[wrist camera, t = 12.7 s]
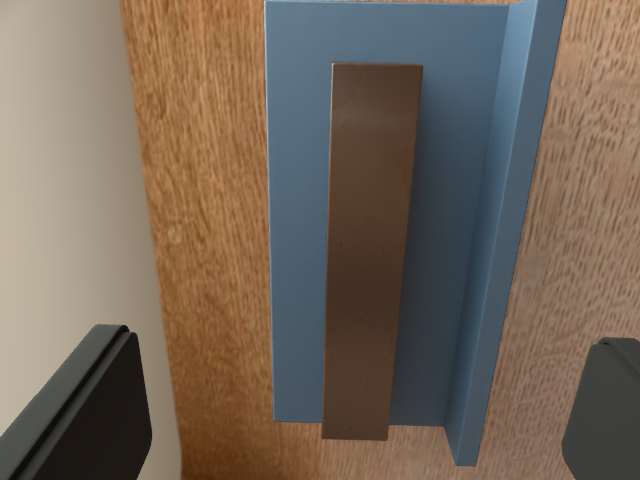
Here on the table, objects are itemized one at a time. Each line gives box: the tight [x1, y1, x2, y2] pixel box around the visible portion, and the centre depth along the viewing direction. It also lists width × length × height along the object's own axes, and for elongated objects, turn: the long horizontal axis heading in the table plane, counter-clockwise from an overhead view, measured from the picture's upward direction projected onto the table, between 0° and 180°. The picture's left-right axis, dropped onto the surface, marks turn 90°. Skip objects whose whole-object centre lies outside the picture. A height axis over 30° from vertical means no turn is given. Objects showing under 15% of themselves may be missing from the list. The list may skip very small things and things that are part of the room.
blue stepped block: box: [264, 0, 567, 466], centre depth 24 cm, size 10×20×12 cm, turn 179°
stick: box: [322, 61, 423, 441], centre depth 19 cm, size 16×3×3 cm, turn 179°
